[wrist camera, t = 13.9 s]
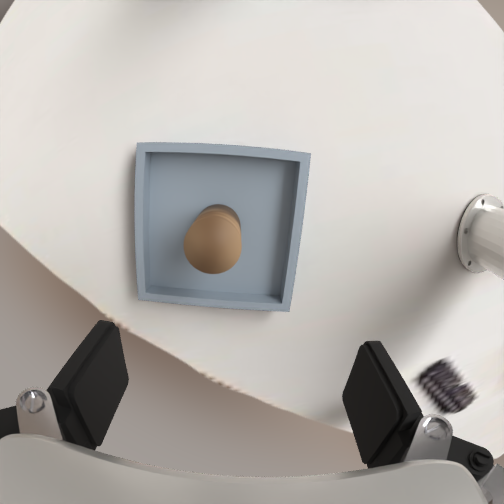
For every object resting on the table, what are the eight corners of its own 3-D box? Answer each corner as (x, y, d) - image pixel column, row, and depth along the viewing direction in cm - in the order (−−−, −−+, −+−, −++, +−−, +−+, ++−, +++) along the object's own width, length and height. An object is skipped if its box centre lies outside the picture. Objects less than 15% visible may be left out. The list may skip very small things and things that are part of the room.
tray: (304, 153, 31) (310, 153, 28) (285, 300, 36) (289, 311, 34) (145, 143, 30) (137, 142, 27) (145, 288, 35) (138, 299, 33)
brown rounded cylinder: (242, 206, 32) (244, 220, 24) (238, 249, 33) (238, 276, 26) (197, 202, 31) (184, 215, 24) (194, 245, 33) (182, 271, 25)
